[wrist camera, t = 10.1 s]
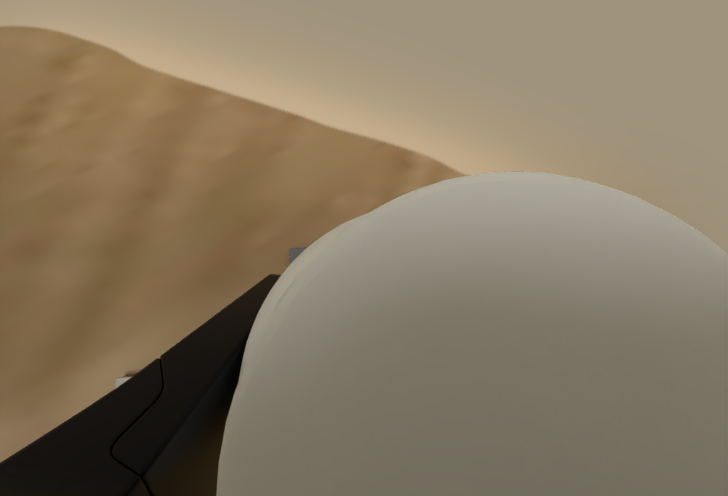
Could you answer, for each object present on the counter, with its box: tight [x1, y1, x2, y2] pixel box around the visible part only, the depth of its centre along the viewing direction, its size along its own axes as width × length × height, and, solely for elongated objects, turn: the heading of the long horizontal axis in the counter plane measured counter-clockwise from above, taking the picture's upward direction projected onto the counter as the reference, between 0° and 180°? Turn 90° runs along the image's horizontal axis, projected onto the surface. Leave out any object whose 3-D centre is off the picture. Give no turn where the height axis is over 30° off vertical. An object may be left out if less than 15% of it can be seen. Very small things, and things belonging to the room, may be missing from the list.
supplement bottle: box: [216, 171, 728, 496], centre depth 8 cm, size 7×7×13 cm
